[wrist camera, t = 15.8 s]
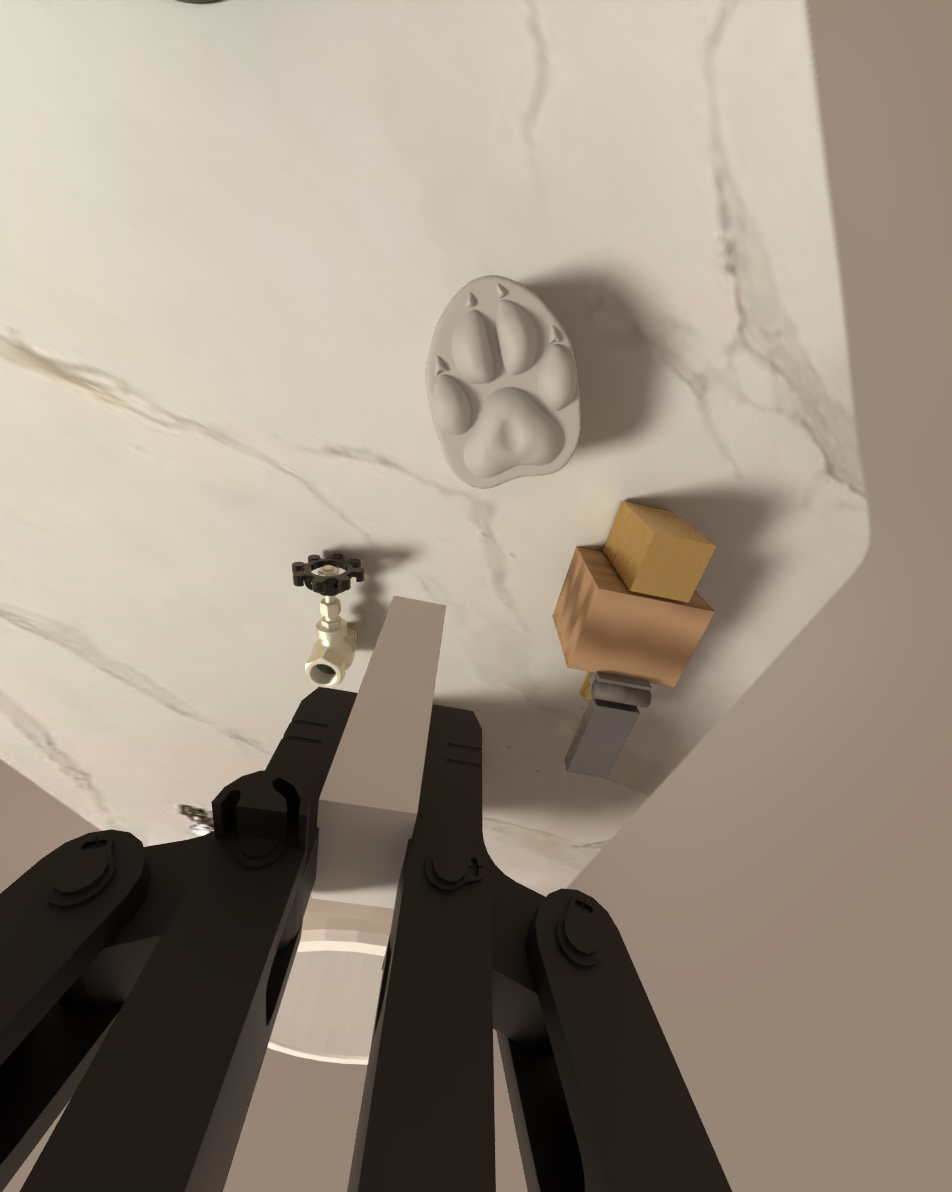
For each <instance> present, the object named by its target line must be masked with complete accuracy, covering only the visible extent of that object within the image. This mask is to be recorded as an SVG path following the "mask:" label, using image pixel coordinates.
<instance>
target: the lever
mask: <svg viewBox="0 0 952 1192" xmlns="http://www.w3.org/2000/svg"><path fill="white" fill-rule="evenodd" d="M638 715H639V711H638V709H637V706H635V705H629V704H623V703H618V702H612V701H606V700H601V699H595V698H593V697H592V698H591V700H590V702H589V705H588V707H587V709H586V712H585V714H584V716H583V718H582V721H581V723H580V725H579V728H578V730H577V732H576V735H575V737H574V739H573V741H572V744H571V746H570V748H569V751H568V753H567V755H566V758H565V764H566V769H567V771H568V772H574V773H580V774H587V775H593V776H599V777H605V778H607V776H608V774H609V772H610V770H611V768H612V766H613V764H614V762H615V760H616V758H617V756H618V754H619V752H620V751H621V749H622V747H623V745H624V743H625V741H626V739H627V737H628V735H629V733H630V731H631V729H632V727H633V725H634V723H635V721H636V719H637V717H638Z"/></svg>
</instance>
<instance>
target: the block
mask: <svg viewBox="0 0 952 1192" xmlns="http://www.w3.org/2000/svg"><path fill="white" fill-rule="evenodd" d="M714 613H715V611H714V610H713V609H712V608H711V607H710V606H709V605H708V604H707V603H706V602H705V601H704V599H703V598H702V597H701V596H700V595H699V594H698V593H697V592H696V591H694V593H693V595H692V596H691V598H690V600H689V602H683V601H678V600H673V599H668V598H663V597H658V596H653V595H648V594H643V593H638V592H633V591H630V590H629V589H628V587H627V586H626V584H625V583H624V581H623V580H622V578H621V577H620V575H619V574H618V572H617V571H616V569H615V568H614V566H613V564H612V563H611V561H610V560H609V558H608V557H607V555H606V554H605V552H600V551H595V550H590V549H585V548H581V547H576V550H575V553H574V555H573V558H572V561H571V564H570V567H569V570H568V573H567V576H566V579H565V582H564V584H563V587H562V590H561V593H560V596H559V599H558V602H557V605H556V608H555V610H554V613H553V619H554V622H555V625H556V629H557V632H558V636H559V639H560V643H561V646H562V650H563V653H564V657H565V660H566V664H567V667H568V668H572V669H577V670H583V671H588V672H592V673H591V675H590V678H589V682H590V685H591V695H592V697H593V698H595V699H601V700H606V701H612V702H618V703H623V704H629V705H635V706H640V707H648V706H649V704H650V702H651V693H650V690H651V688H652V687H651V685H650V683H654V684H660V685H665V686H671V687H675V685H676V683H677V681H678V679H679V678H680V676H681V674H682V672H683V670H684V668H685V667H686V665H687V663H688V661H689V659H690V657H691V656H692V654H693V652H694V650H695V648H696V646H697V644H698V643H699V641H700V639H701V637H702V635H703V633H704V632H705V630H706V628H707V626H708V624H709V622H710V621H711V619H712V617H713V615H714Z"/></svg>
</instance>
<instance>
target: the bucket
mask: <svg viewBox="0 0 952 1192" xmlns="http://www.w3.org/2000/svg"><path fill="white" fill-rule="evenodd" d="M393 912H394V909H392V908H384V907H376V906H368V905H360V904H352V903H344V902H336V901H328V900H319V899H312V892H311V895H310V898H309V901H308V904H307V908H306V911H305V914H304V917H303V925H302V933H301V939H300V943H299V946H298V949H297V952H296V956H295V959H294V962H293V965H292V969H291V972H290V975H289V978H288V982H287V985H286V988H285V991H284V995H283V998H282V1001H281V1004H280V1007H279V1011H278V1014H277V1017H276V1020H275V1024H274V1027H273V1030H272V1033H271V1037H270V1040H269V1043H268V1046H267V1047H268V1048H271V1049H273V1050H277V1051H280V1052H283V1053H287V1054H291V1055H294V1056H298V1057H303V1058H309V1059H314V1060H320V1061H327V1062H335V1063H344V1064H368V1060H369V1054H370V1047H371V1041H372V1035H373V1029H374V1023H375V1016H376V1010H377V1004H378V998H379V992H380V986H381V979H382V973H383V970H381V969H382V965H383V961H384V957H385V953H386V948H387V944H388V940H389V936H390V931H391V925H392V918H393Z"/></svg>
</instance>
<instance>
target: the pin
mask: <svg viewBox="0 0 952 1192" xmlns="http://www.w3.org/2000/svg"><path fill="white" fill-rule="evenodd" d="M716 547H717V545H715V544H714V543H713V542H711V541H710V540H709V539H707V538H706V537H705V536H704V535H702V534H701V533H700V532H698V531H697V530H696V529H694V528H693V527H692V526H691V525H689V524H688V523H687V522H685V521H684V520H683V519H681V518H680V517H679V516H678V515H676V514H675V513H674V512H671V511H667V510H662V509H658V508H653V507H649V506H644V505H640V504H635V503H631V502H626V501H621V504H620V507H619V509H618V512H617V515H616V517H615V520H614V523H613V525H612V528H611V531H610V533H609V536H608V538H607V541H606V544H605V546H604V549H603V551H604V552H605V554H606V555H607V557H608V558H609V560H610V561H611V563H612V564H613V566H614V568H615V569H616V571H617V572H618V574H619V575H620V577H621V578H622V580H623V581H624V583H625V584H626V586H627V587H628V589H629V590H630V591H633V592H638V593H643V594H648V595H653V596H658V597H663V598H668V599H673V600H678V601H683V602H689V600H690V598H691V596H692V595H693V593H694V591H695V589H696V587H697V585H698V583H699V581H700V579H701V577H702V575H703V573H704V571H705V569H706V567H707V565H708V563H709V561H710V559H711V557H712V555H713V553H714V551H715V549H716ZM591 673H592V672H587V674H586V676H585V679H584V681H583V684H582V686H581V688H580V694H581V695H582V696H583V697H584V698H585V699H586V700H588V701H590V700H591V698H592V695H591V685H590V682H589V678H590V675H591Z"/></svg>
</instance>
